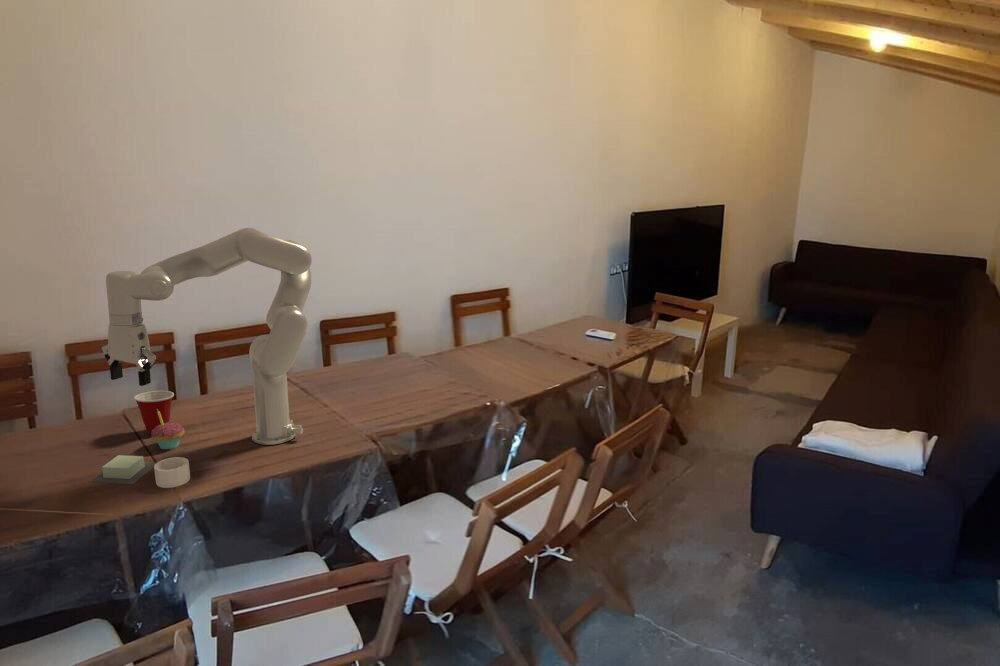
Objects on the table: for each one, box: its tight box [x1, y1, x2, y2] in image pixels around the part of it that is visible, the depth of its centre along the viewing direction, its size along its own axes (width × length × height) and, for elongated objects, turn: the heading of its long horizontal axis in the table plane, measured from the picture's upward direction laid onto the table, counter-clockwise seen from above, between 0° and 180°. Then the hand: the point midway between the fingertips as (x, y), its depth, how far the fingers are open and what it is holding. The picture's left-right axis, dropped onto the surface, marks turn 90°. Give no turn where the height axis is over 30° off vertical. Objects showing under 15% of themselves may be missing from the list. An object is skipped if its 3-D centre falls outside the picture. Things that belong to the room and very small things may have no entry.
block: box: [101, 454, 145, 479], centre depth 177 cm, size 7×7×3 cm
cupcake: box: [150, 409, 185, 450], centre depth 192 cm, size 9×8×12 cm
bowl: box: [153, 456, 191, 489], centre depth 173 cm, size 8×8×5 cm
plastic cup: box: [133, 390, 175, 435], centre depth 202 cm, size 11×11×12 cm
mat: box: [88, 461, 157, 485], centre depth 177 cm, size 12×12×1 cm
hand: (130, 381), depth 177 cm, fingers open, 9 cm apart
